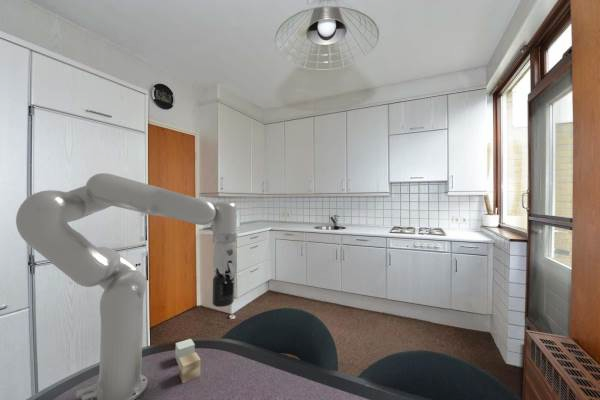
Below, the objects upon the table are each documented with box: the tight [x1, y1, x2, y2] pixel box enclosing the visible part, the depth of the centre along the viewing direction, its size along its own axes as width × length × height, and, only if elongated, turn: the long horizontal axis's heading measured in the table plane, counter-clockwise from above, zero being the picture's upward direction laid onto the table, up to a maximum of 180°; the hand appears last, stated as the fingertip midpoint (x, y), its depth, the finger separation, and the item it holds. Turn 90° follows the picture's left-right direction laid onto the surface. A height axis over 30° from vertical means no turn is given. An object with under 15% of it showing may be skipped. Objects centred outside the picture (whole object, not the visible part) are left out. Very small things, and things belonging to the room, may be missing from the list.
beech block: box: [178, 352, 202, 384], centre depth 75 cm, size 5×5×5 cm
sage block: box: [175, 338, 196, 366], centre depth 83 cm, size 5×5×5 cm
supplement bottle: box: [211, 268, 235, 308], centre depth 81 cm, size 7×7×12 cm
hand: (223, 291), depth 81 cm, fingers closed on supplement bottle, 6 cm apart
